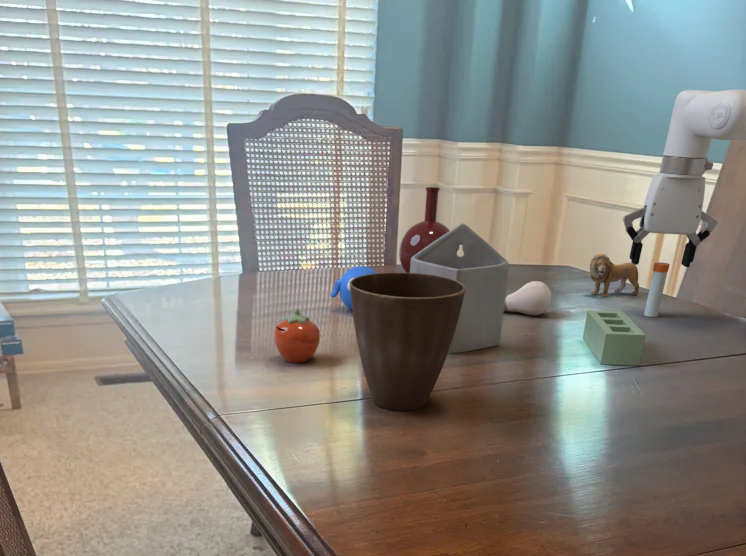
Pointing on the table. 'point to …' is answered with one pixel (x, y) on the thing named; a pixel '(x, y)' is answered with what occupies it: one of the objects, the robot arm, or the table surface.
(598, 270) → the lion figurine
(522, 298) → the light bulb
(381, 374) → the flower pot
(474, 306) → the planter
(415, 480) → the table surface
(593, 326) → the rack
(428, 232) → the round-bottom flask
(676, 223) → the robot arm
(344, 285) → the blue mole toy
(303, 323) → the tomato
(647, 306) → the test tube
